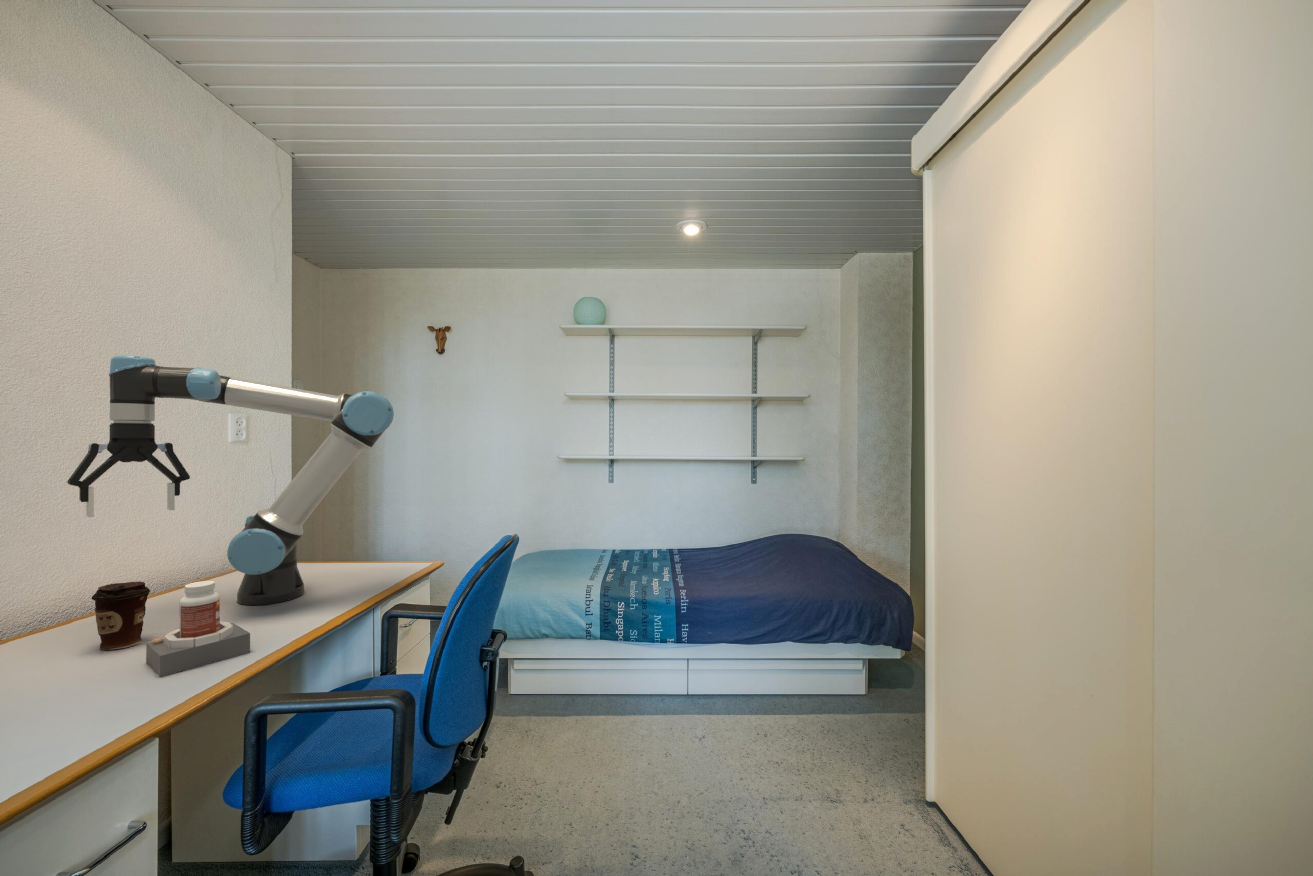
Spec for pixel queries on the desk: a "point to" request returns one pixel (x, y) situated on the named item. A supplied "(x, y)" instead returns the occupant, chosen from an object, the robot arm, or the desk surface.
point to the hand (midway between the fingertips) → (132, 513)
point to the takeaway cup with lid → (120, 614)
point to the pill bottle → (199, 610)
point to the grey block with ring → (195, 649)
